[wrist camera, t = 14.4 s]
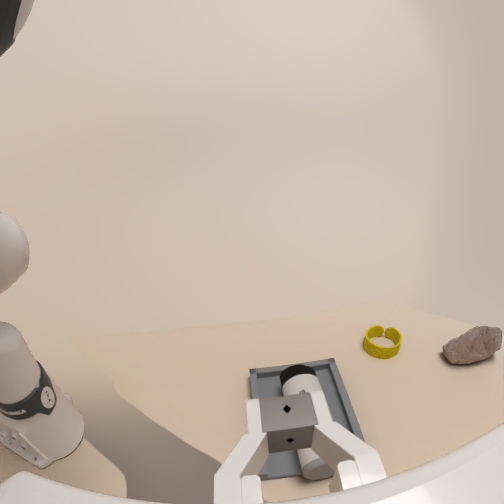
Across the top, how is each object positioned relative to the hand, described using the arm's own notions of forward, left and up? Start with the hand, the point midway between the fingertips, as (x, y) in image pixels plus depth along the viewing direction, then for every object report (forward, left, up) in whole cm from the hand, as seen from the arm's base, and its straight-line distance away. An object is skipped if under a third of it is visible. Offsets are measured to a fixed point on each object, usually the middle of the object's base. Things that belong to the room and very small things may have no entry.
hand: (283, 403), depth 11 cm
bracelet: (+26, +35, -34) cm, 56 cm away
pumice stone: (+45, +25, -34) cm, 62 cm away
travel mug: (+7, +8, -30) cm, 32 cm away
